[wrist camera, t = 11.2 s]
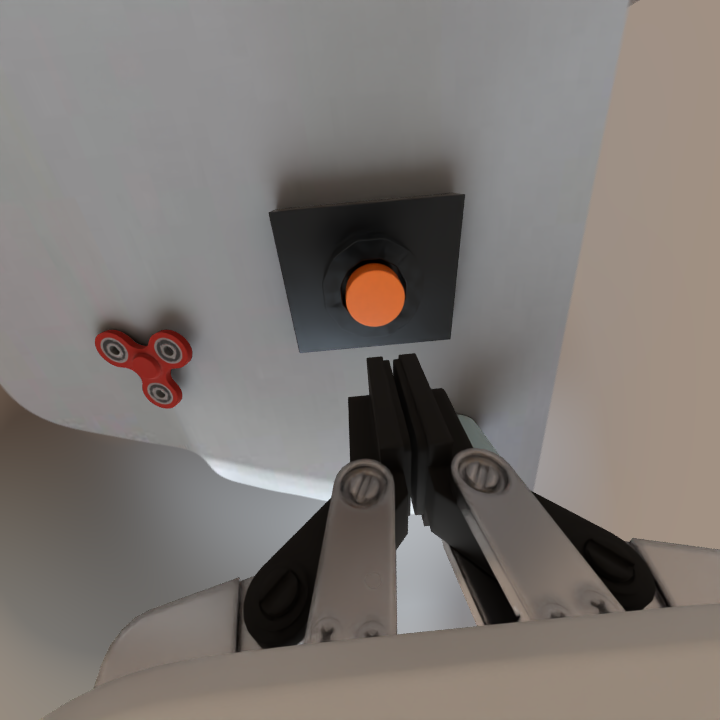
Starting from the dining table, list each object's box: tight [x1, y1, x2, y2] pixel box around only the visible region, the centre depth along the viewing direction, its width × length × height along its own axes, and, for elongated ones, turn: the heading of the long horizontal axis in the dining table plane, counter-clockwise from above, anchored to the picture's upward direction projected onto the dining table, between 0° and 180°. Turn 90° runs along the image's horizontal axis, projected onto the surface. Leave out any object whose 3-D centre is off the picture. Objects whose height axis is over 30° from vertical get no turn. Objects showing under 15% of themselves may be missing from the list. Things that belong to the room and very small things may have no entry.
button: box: [346, 263, 405, 327], centre depth 18 cm, size 4×4×2 cm
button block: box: [269, 193, 465, 353], centre depth 20 cm, size 12×10×4 cm
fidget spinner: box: [95, 330, 192, 408], centre depth 24 cm, size 8×7×1 cm
